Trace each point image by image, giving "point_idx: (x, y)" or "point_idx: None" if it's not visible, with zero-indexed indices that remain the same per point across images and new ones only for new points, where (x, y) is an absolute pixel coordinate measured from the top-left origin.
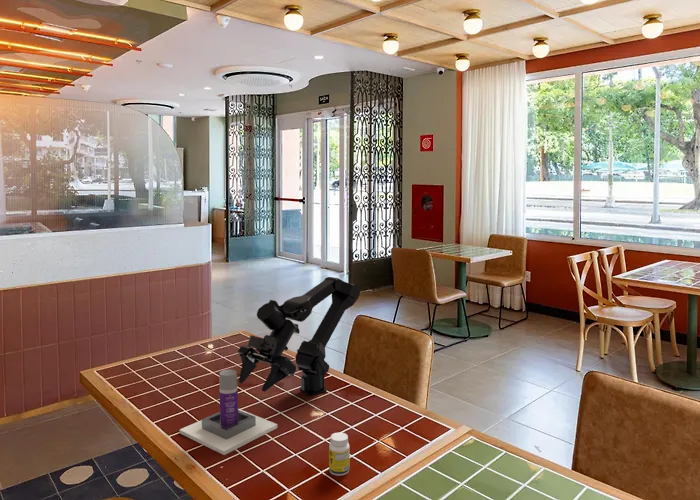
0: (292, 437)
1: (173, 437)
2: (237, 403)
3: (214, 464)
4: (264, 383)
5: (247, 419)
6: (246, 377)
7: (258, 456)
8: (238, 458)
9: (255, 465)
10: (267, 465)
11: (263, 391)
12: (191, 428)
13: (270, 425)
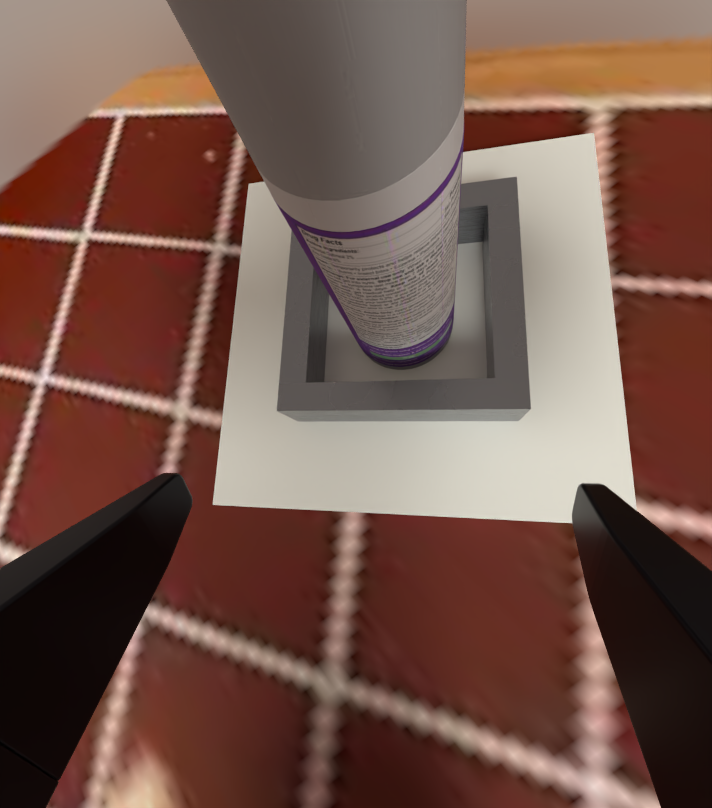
0: (115, 474)
1: (568, 115)
2: (320, 278)
3: (241, 144)
4: (116, 516)
5: (289, 354)
6: (608, 643)
7: (146, 278)
8: (198, 221)
9: (121, 236)
10: (88, 263)
11: (184, 493)
12: (553, 180)
13: (234, 471)
